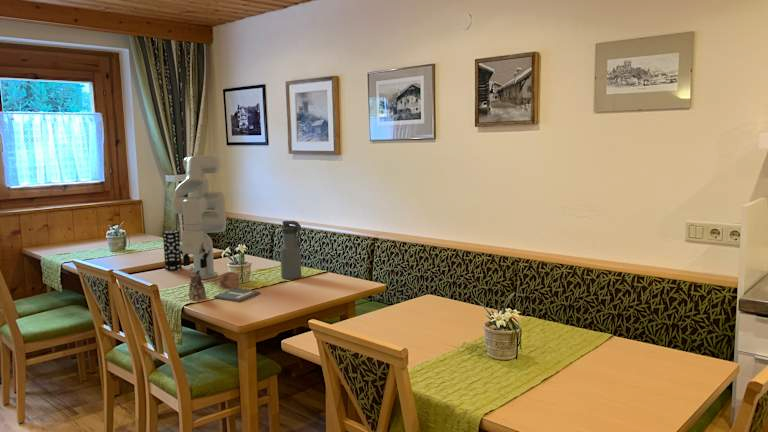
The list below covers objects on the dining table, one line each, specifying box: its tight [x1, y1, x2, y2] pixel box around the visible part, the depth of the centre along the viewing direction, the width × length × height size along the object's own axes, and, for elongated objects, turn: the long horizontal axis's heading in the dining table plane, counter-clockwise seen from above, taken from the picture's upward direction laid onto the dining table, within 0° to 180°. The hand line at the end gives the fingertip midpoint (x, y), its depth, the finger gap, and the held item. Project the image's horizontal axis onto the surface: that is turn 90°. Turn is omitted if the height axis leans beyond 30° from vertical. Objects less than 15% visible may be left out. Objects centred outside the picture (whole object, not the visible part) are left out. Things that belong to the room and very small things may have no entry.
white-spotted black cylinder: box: [162, 229, 183, 272], centre depth 315 cm, size 8×8×20 cm
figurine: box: [188, 270, 207, 301], centre depth 263 cm, size 7×7×12 cm
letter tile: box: [213, 287, 261, 303], centre depth 266 cm, size 14×14×1 cm
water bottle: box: [279, 220, 302, 280], centre depth 295 cm, size 10×10×28 cm
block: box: [219, 271, 240, 290], centre depth 282 cm, size 6×6×6 cm
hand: (195, 266), depth 261 cm, fingers open, 9 cm apart
